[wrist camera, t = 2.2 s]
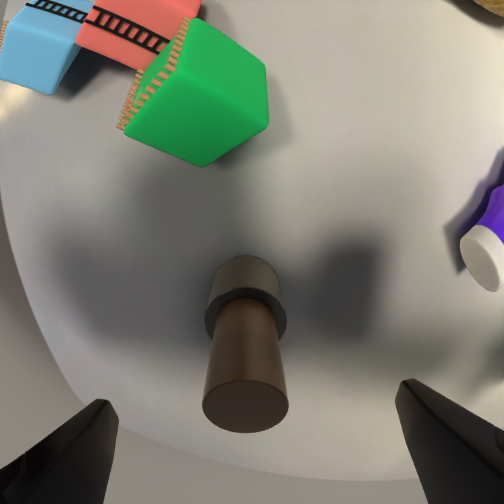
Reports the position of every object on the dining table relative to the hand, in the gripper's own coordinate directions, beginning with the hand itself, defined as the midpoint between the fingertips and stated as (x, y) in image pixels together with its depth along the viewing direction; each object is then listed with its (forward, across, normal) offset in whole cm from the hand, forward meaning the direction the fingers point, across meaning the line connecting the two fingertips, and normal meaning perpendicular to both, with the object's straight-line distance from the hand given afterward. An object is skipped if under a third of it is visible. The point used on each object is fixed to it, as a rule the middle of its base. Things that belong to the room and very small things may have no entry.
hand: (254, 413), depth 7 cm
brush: (+9, 0, 0) cm, 9 cm away
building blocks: (+10, +5, -12) cm, 16 cm away
